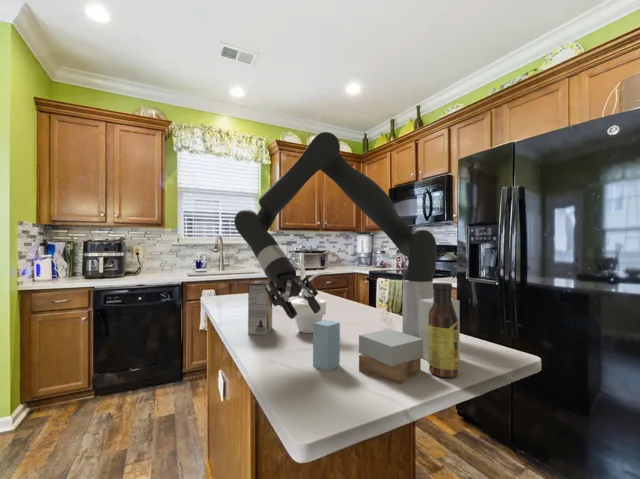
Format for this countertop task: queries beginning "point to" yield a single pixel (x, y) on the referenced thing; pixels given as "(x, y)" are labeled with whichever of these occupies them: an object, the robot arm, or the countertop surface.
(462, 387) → the countertop surface
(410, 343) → the block top
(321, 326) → the blue block
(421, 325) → the skincare box
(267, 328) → the coffee box
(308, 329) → the potted plant
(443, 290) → the sauce bottle
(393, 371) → the block bottom
